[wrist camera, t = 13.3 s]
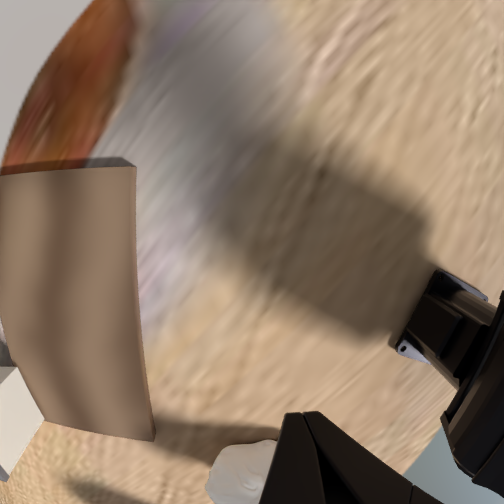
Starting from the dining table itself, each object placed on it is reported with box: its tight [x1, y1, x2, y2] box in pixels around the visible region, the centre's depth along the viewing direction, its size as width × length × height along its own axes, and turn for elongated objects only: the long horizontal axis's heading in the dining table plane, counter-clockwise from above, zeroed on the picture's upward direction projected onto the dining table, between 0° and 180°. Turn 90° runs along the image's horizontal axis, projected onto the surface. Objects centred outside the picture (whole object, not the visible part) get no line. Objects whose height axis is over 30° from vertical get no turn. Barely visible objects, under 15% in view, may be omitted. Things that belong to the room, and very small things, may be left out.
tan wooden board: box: [0, 166, 156, 442], centre depth 18 cm, size 11×19×1 cm, turn 178°
